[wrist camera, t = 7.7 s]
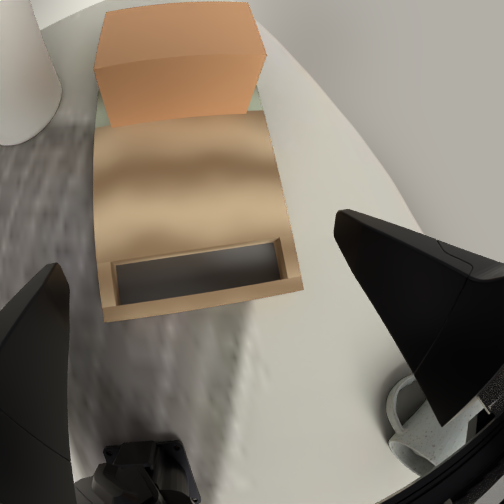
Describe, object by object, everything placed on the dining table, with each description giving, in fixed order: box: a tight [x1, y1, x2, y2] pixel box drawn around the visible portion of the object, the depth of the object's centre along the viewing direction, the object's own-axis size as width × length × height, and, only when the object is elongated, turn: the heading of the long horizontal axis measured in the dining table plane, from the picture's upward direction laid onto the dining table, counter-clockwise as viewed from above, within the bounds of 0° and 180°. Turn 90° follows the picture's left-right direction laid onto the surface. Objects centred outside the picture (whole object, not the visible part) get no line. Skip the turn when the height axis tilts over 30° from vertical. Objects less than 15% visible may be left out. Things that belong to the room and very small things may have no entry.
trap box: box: [93, 85, 304, 323], centre depth 23 cm, size 28×14×2 cm, turn 11°
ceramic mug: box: [386, 374, 484, 476], centre depth 20 cm, size 11×8×8 cm
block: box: [94, 2, 267, 128], centre depth 19 cm, size 7×11×7 cm, turn 101°
